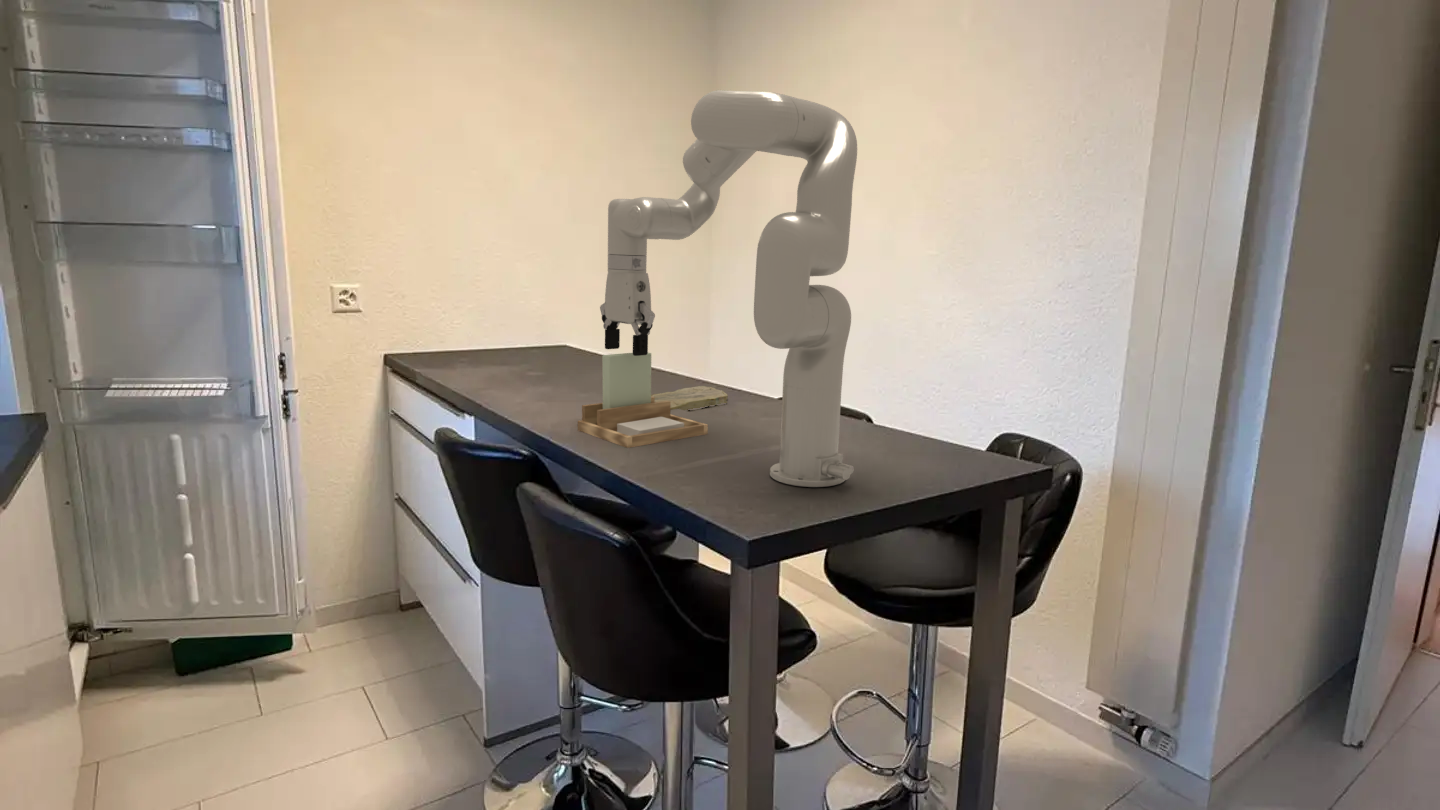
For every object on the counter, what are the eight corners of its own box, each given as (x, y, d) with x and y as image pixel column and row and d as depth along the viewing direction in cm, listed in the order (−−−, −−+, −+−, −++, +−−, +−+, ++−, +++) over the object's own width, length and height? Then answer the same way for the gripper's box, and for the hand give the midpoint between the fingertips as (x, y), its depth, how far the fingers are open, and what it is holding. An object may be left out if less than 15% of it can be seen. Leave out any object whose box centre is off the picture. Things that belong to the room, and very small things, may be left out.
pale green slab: (650, 430, 163) (651, 353, 159) (609, 437, 156) (609, 356, 153) (643, 428, 164) (644, 351, 161) (602, 434, 158) (602, 355, 155)
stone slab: (740, 391, 195) (653, 402, 173) (739, 407, 196) (652, 420, 173) (703, 383, 203) (615, 393, 180) (702, 399, 204) (614, 411, 181)
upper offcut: (683, 432, 155) (684, 422, 155) (639, 441, 148) (639, 430, 148) (661, 426, 160) (661, 416, 160) (617, 433, 153) (617, 423, 152)
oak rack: (707, 439, 156) (708, 409, 155) (627, 453, 144) (627, 421, 143) (655, 423, 169) (655, 396, 168) (577, 435, 156) (577, 405, 155)
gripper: (669, 267, 150) (667, 356, 153) (618, 262, 163) (617, 345, 166) (636, 266, 145) (635, 359, 149) (586, 262, 158) (586, 347, 161)
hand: (625, 351), depth 157 cm, fingers open, 9 cm apart
